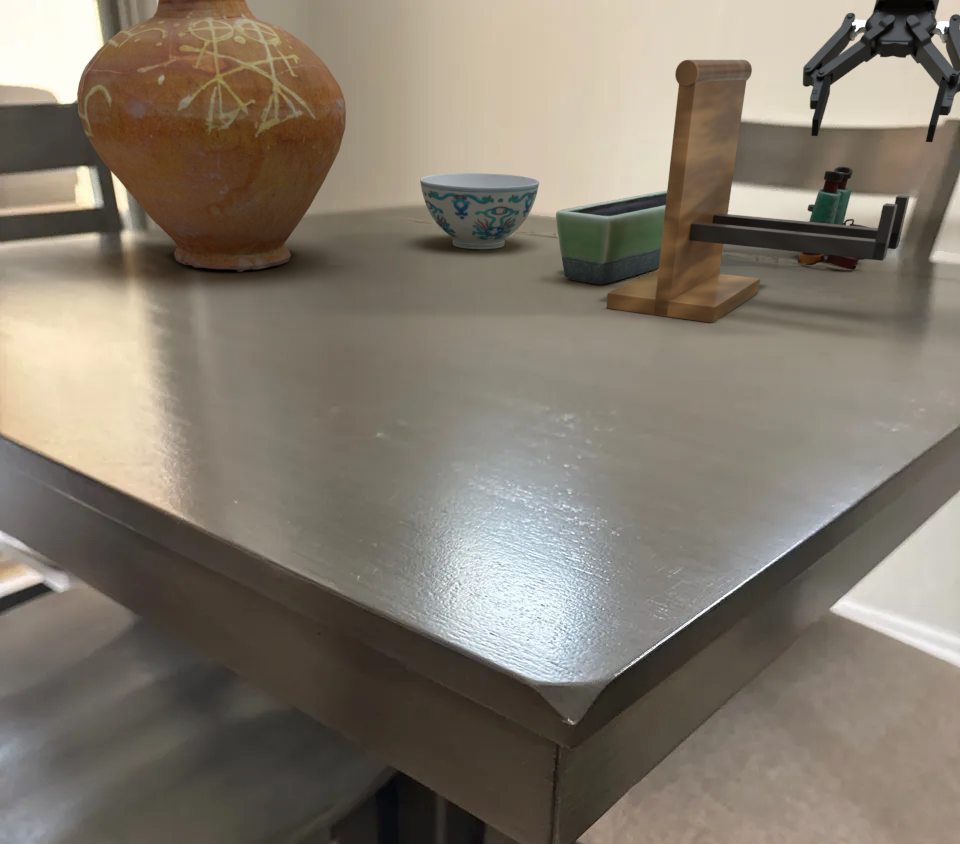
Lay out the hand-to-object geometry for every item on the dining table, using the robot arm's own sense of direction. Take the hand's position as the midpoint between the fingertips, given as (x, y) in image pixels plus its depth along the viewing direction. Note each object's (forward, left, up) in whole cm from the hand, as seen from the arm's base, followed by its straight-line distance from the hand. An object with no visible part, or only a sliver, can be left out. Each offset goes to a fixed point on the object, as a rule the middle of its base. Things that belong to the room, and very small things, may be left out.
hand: (871, 131), depth 120 cm
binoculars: (-1, +9, -14) cm, 17 cm away
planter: (+19, +25, -14) cm, 35 cm away
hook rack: (+2, +39, -14) cm, 42 cm away
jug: (+60, +50, -14) cm, 80 cm away
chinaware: (+42, +23, -14) cm, 50 cm away
